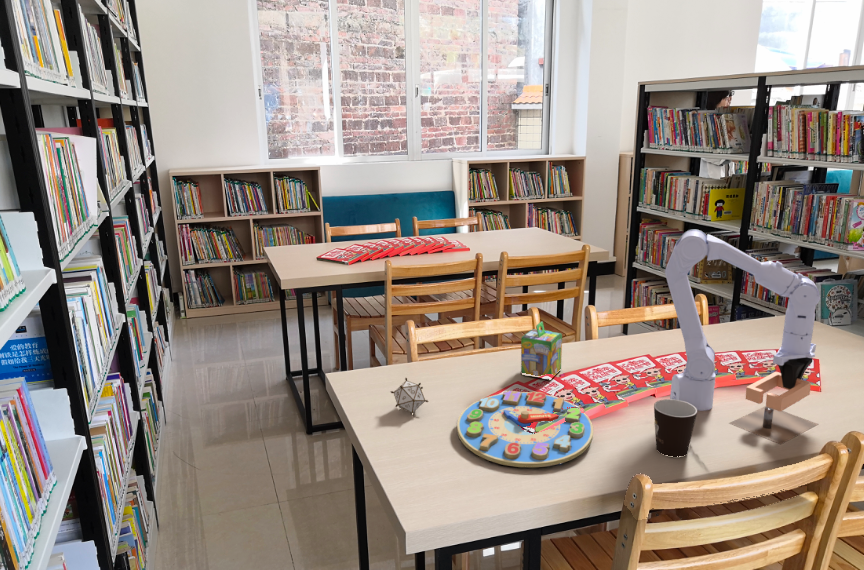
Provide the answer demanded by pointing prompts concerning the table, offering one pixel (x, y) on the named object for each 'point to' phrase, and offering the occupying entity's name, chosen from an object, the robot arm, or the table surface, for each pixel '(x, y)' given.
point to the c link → (773, 400)
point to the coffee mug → (673, 426)
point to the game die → (409, 396)
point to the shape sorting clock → (510, 445)
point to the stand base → (774, 425)
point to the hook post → (768, 418)
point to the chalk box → (541, 352)
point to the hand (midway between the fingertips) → (790, 387)
